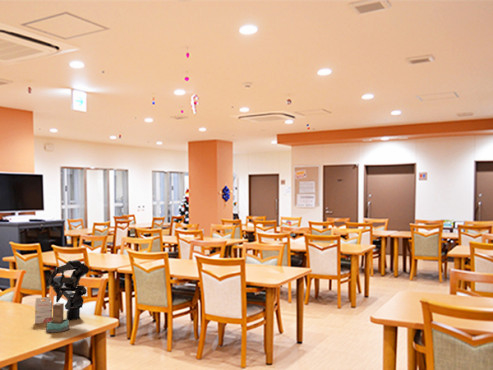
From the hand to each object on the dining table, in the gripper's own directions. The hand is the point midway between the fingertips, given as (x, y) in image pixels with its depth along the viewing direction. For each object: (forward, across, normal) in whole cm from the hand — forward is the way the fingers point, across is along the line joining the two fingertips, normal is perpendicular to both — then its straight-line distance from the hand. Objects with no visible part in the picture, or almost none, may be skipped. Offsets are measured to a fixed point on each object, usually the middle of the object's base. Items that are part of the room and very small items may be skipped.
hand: (64, 302), depth 241 cm
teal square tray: (+15, +1, +4) cm, 15 cm away
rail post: (+14, +1, +4) cm, 14 cm away
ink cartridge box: (+6, -16, +13) cm, 22 cm away
